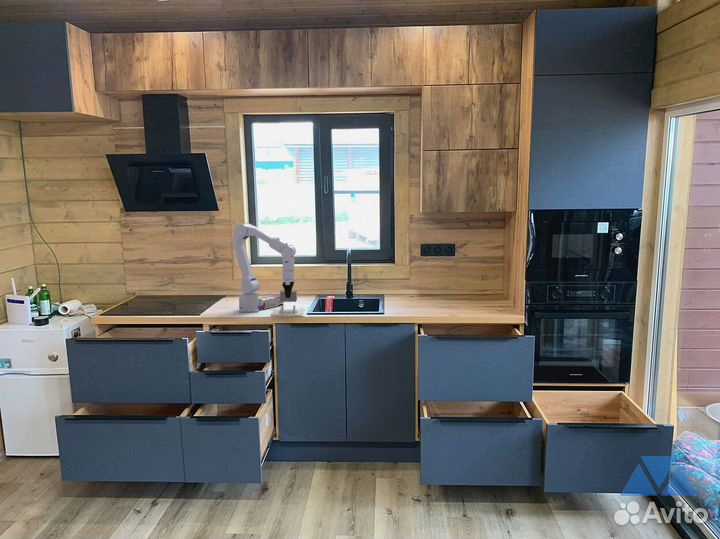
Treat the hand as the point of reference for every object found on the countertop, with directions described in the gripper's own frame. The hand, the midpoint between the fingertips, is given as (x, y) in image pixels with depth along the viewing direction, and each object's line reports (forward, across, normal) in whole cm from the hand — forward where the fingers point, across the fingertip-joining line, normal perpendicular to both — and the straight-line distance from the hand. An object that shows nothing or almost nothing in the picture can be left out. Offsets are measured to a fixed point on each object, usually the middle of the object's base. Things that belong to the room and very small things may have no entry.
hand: (288, 296), depth 271 cm
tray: (+8, 0, 0) cm, 8 cm away
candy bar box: (+6, +25, +7) cm, 26 cm away
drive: (+2, 0, 0) cm, 2 cm away
